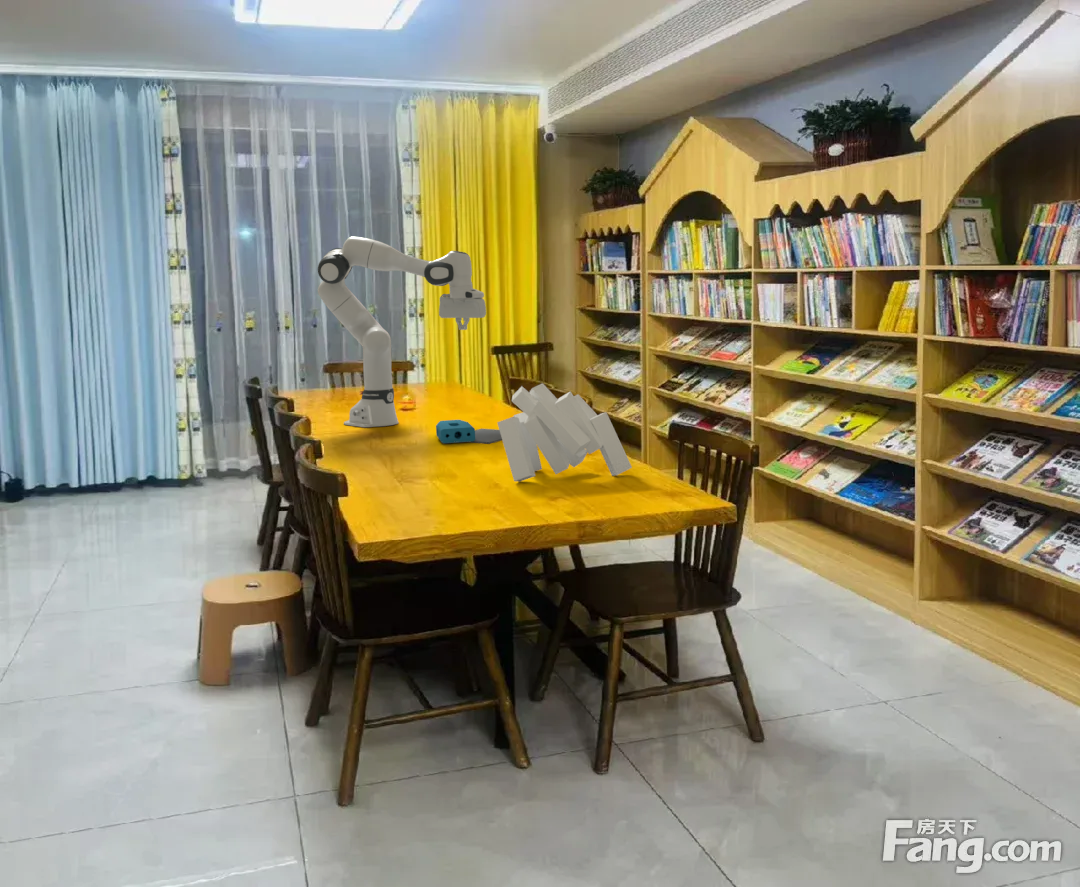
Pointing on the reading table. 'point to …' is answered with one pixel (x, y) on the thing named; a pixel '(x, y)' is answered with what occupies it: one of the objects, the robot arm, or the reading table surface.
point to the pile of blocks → (557, 434)
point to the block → (455, 431)
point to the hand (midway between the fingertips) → (462, 329)
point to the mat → (487, 436)
